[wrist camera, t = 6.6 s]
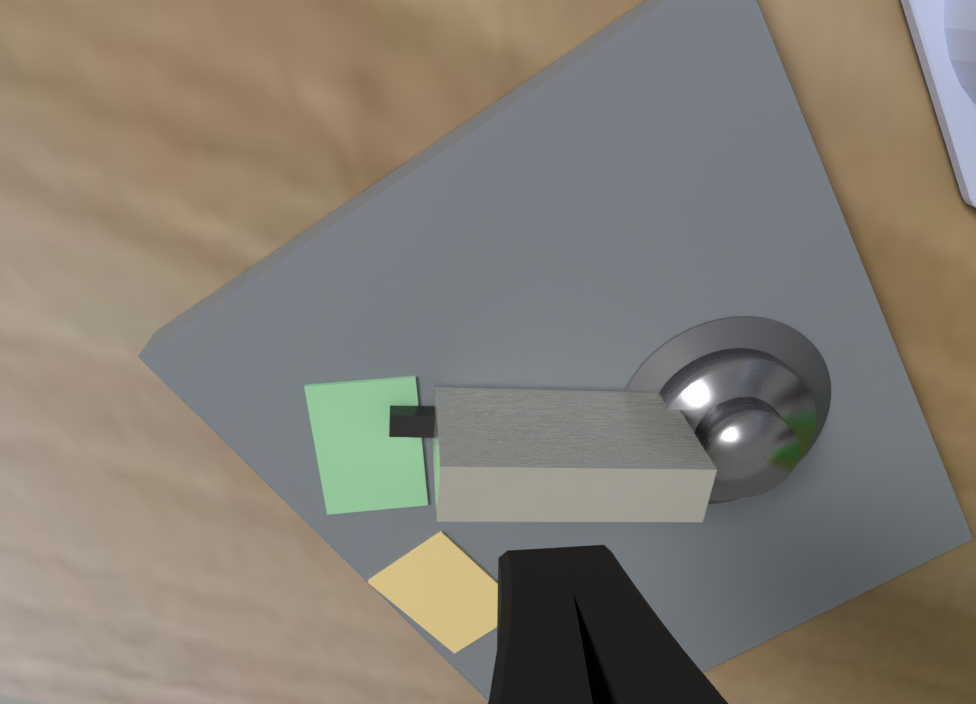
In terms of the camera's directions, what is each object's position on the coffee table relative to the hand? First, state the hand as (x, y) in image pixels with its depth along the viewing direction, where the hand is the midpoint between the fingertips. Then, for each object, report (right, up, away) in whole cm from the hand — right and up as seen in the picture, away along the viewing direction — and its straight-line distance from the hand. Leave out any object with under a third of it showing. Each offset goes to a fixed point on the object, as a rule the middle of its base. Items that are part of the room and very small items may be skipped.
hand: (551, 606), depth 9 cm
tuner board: (+2, +1, +11) cm, 11 cm away
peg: (+2, +2, +9) cm, 9 cm away
